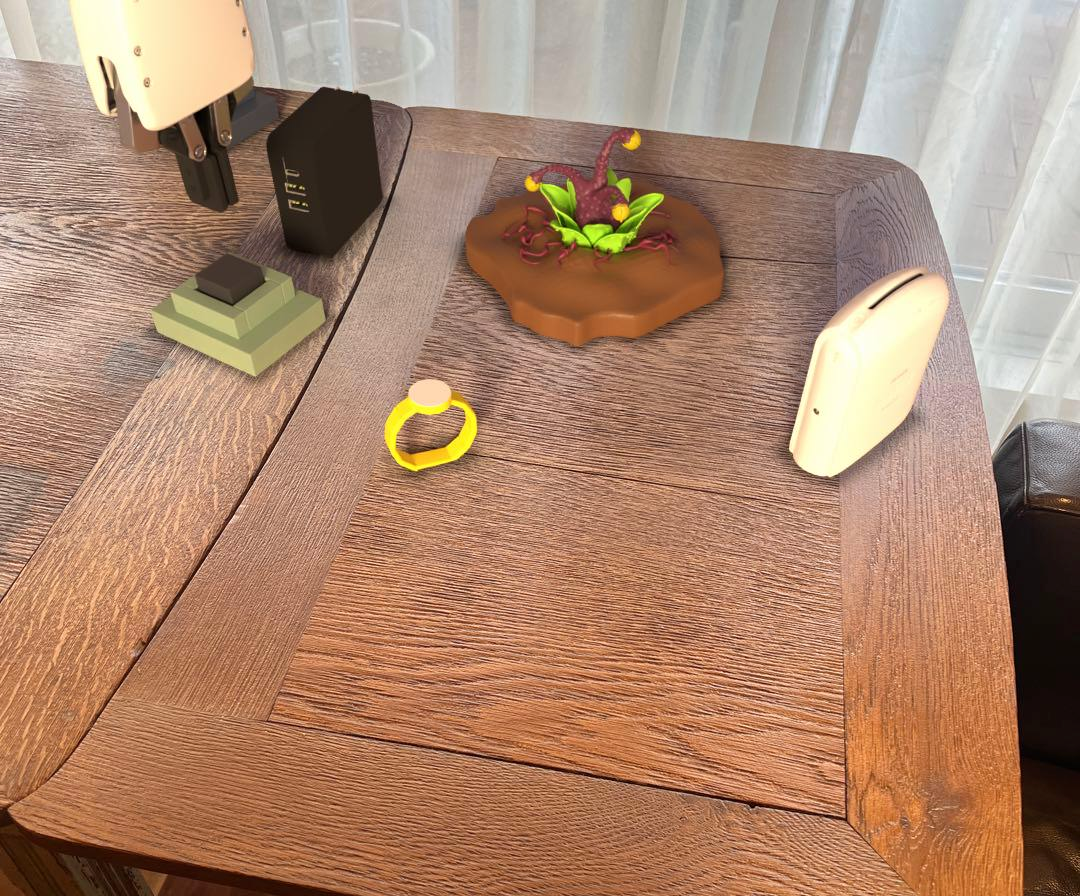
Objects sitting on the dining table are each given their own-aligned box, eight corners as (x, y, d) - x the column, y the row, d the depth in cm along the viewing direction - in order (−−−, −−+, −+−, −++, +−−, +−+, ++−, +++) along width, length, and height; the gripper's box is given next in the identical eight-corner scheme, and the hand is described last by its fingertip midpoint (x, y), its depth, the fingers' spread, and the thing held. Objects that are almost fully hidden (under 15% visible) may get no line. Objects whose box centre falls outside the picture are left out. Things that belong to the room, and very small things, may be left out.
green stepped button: (157, 333, 79) (142, 289, 76) (230, 282, 83) (219, 238, 80) (255, 378, 75) (244, 334, 72) (326, 322, 80) (318, 278, 77)
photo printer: (828, 489, 68) (875, 338, 59) (776, 456, 70) (814, 305, 61) (916, 418, 73) (972, 268, 63) (865, 389, 75) (913, 239, 65)
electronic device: (286, 252, 86) (262, 138, 79) (342, 193, 92) (325, 82, 85) (331, 262, 85) (311, 147, 78) (384, 202, 91) (370, 90, 84)
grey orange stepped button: (147, 126, 100) (135, 85, 97) (205, 94, 105) (196, 54, 102) (223, 153, 97) (213, 112, 94) (280, 119, 101) (272, 79, 98)
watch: (397, 486, 68) (388, 418, 64) (385, 459, 70) (375, 391, 65) (482, 461, 70) (479, 394, 65) (468, 435, 71) (464, 368, 67)
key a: (199, 292, 76) (194, 275, 75) (231, 270, 78) (226, 252, 77) (233, 307, 75) (228, 289, 74) (265, 284, 77) (261, 266, 76)
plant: (766, 299, 82) (793, 168, 74) (546, 367, 76) (548, 233, 68) (641, 182, 94) (652, 57, 85) (443, 233, 88) (433, 105, 80)
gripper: (182, -143, 63) (248, 143, 77) (-22, -68, 55) (93, 238, 68) (275, -123, 60) (326, 169, 74) (75, -41, 52) (175, 272, 66)
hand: (214, 202), depth 71 cm, fingers closed
